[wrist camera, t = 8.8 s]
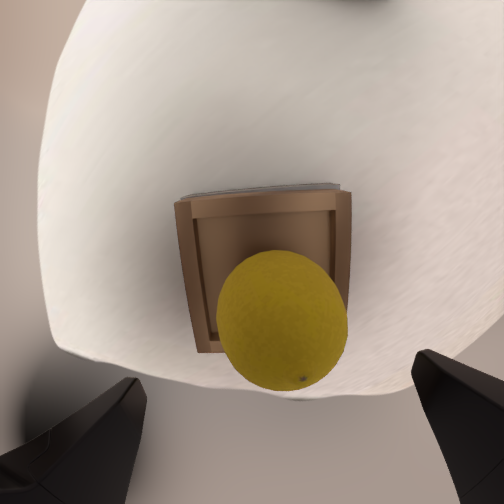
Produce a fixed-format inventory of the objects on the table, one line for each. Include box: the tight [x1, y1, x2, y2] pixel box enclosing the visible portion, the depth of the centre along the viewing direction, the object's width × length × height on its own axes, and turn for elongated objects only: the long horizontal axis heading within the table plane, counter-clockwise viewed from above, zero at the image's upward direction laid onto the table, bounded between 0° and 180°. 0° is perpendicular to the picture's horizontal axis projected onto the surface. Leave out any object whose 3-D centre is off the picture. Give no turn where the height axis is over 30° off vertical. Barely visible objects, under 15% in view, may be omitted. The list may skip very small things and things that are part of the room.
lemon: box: [216, 250, 348, 391], centre depth 12 cm, size 6×6×8 cm
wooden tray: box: [174, 189, 352, 353], centre depth 16 cm, size 9×9×3 cm
